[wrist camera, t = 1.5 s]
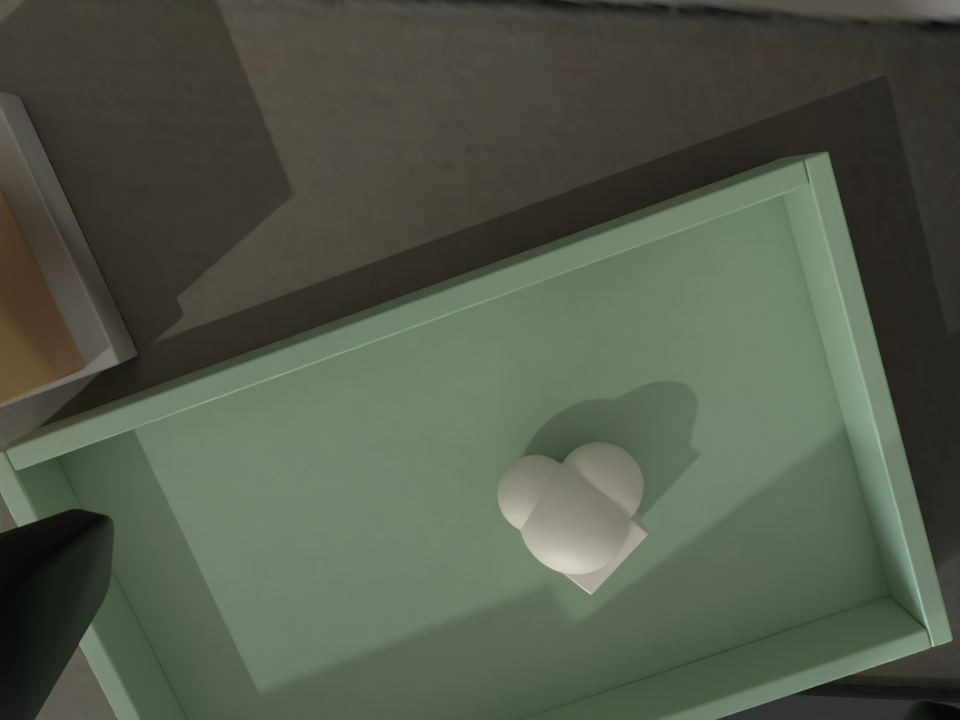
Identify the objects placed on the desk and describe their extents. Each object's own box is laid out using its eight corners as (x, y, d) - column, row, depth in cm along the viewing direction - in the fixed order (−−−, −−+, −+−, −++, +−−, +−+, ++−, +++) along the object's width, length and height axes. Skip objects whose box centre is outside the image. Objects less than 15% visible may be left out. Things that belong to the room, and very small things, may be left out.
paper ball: (531, 580, 21) (541, 635, 19) (485, 458, 21) (489, 496, 18) (657, 536, 21) (686, 585, 19) (615, 412, 21) (640, 444, 18)
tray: (230, 821, 23) (205, 890, 21) (34, 429, 21) (-20, 458, 18) (903, 595, 23) (954, 641, 20) (785, 156, 20) (829, 150, 18)
